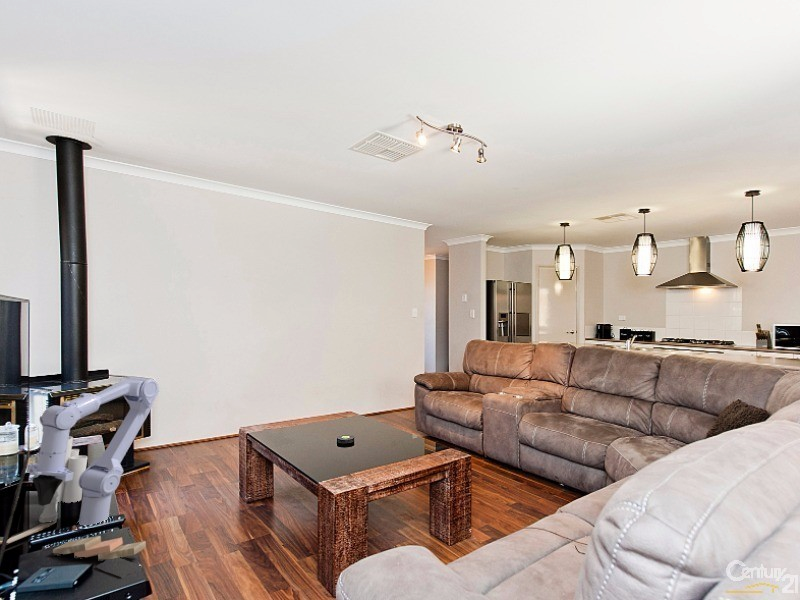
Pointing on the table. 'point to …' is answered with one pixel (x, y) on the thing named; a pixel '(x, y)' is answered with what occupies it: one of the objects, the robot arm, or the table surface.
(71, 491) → the candle
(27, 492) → the table surface
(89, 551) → the terracotta domino
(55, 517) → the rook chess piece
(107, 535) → the table surface
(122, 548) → the birch domino
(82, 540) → the birch domino
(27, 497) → the table surface
